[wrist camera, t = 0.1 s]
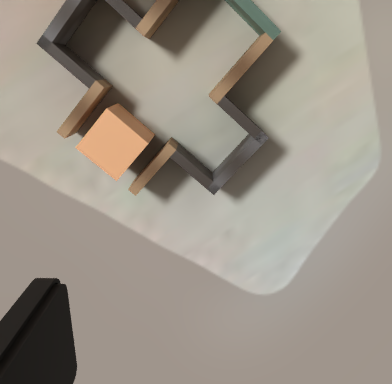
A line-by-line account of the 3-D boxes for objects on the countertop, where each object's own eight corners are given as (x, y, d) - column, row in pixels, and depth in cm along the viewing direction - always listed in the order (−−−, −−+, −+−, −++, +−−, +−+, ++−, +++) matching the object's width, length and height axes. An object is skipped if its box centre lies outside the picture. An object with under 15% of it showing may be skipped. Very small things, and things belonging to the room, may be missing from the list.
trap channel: (148, -94, 33) (142, -112, 30) (315, 77, 37) (326, 77, 34) (22, 87, 38) (4, 90, 35) (181, 218, 43) (179, 230, 39)
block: (118, 103, 39) (106, 108, 34) (155, 134, 40) (148, 143, 35) (90, 138, 40) (75, 147, 35) (126, 167, 41) (116, 180, 36)
